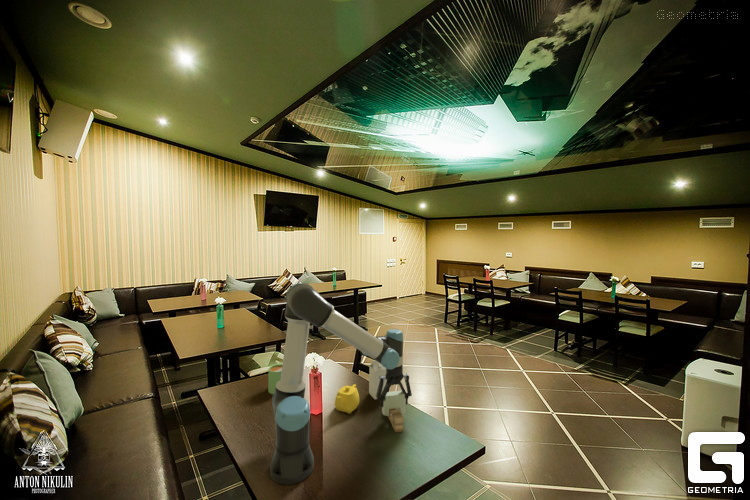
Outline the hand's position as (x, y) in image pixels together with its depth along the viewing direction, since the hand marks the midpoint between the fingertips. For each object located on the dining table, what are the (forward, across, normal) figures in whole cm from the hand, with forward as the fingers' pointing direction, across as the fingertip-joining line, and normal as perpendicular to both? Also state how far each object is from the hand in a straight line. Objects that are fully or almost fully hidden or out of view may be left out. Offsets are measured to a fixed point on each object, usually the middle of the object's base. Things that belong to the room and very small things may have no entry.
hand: (393, 412), depth 138 cm
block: (0, 0, 0) cm, 0 cm away
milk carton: (+4, +2, -23) cm, 23 cm away
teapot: (+4, +20, -13) cm, 24 cm away
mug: (+4, +55, -40) cm, 68 cm away
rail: (+4, 0, 0) cm, 4 cm away
